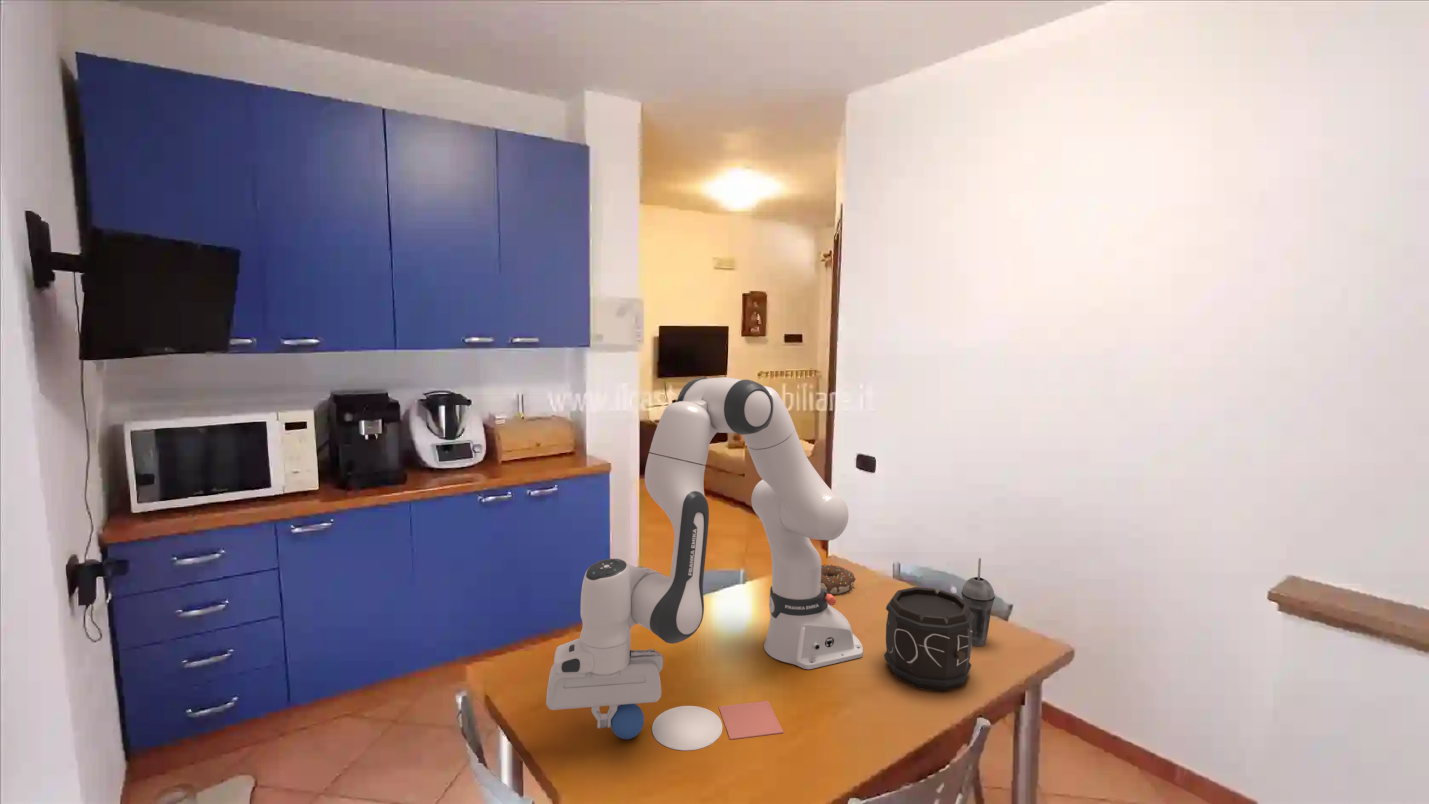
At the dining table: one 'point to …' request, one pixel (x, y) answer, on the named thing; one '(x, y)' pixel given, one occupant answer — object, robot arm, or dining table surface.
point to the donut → (836, 579)
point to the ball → (627, 721)
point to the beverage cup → (979, 606)
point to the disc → (687, 728)
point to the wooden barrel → (929, 638)
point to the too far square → (750, 720)
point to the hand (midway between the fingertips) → (604, 726)
